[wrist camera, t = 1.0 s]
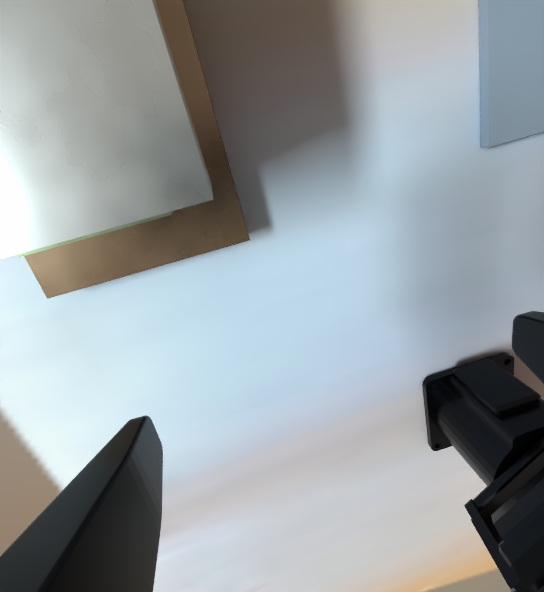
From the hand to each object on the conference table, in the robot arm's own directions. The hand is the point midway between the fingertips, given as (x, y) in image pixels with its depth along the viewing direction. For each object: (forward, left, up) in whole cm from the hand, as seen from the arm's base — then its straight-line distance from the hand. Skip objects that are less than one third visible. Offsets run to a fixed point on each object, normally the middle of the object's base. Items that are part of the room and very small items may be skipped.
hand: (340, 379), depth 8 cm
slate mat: (+6, -16, -12) cm, 21 cm away
